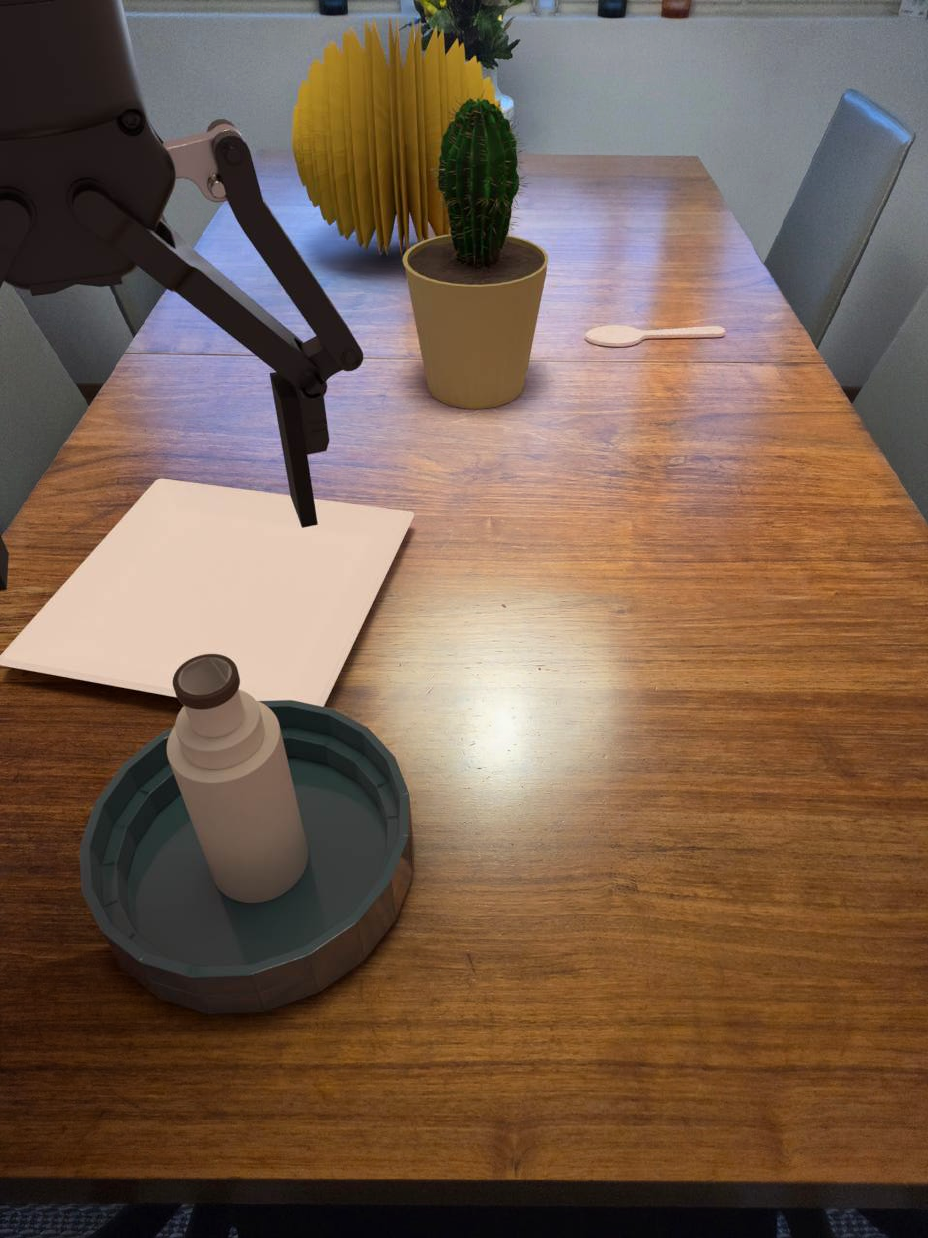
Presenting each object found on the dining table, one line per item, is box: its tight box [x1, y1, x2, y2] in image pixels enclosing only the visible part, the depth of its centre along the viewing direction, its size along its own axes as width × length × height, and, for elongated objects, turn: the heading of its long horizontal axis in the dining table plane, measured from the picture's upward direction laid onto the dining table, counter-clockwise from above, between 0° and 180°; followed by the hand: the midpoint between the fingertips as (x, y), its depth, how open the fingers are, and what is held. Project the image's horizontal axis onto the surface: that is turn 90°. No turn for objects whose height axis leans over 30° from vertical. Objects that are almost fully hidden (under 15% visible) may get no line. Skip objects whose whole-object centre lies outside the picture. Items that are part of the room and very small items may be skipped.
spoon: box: [584, 324, 726, 348], centre depth 111 cm, size 5×18×1 cm, turn 94°
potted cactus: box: [402, 89, 549, 410], centre depth 92 cm, size 15×15×30 cm
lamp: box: [291, 15, 503, 258], centre depth 124 cm, size 30×30×30 cm
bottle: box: [167, 654, 308, 903], centre depth 50 cm, size 6×6×17 cm
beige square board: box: [0, 477, 415, 707], centre depth 74 cm, size 26×26×2 cm
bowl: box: [79, 700, 414, 1015], centre depth 54 cm, size 19×19×5 cm
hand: (157, 541), depth 40 cm, fingers open, 13 cm apart
